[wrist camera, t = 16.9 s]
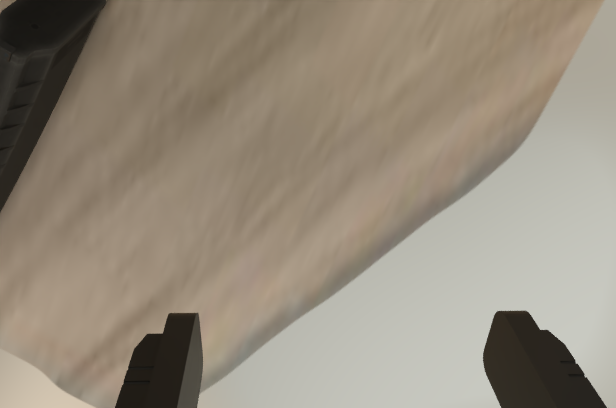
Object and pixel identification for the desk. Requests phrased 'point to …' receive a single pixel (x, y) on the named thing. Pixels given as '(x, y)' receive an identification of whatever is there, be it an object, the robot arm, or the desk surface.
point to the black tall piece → (35, 72)
